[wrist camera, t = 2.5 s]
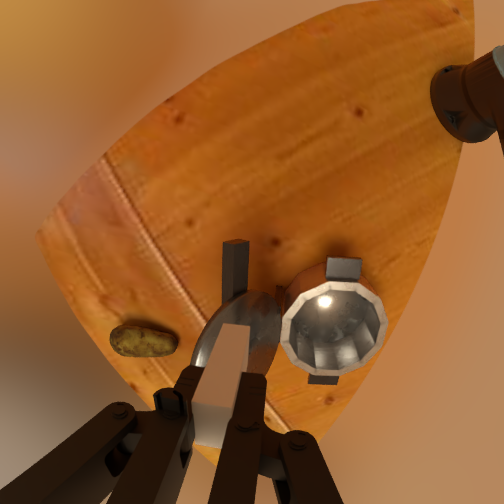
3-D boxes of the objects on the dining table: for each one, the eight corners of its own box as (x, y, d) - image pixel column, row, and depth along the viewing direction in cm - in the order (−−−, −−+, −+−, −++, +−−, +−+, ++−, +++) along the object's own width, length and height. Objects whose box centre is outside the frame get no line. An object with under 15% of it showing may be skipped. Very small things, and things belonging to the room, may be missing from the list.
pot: (380, 249, 46) (400, 265, 36) (358, 359, 51) (368, 389, 42) (279, 241, 47) (277, 255, 38) (270, 355, 53) (266, 385, 44)
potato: (171, 362, 56) (157, 384, 48) (120, 332, 56) (102, 351, 48) (184, 334, 54) (169, 356, 46) (129, 303, 54) (108, 320, 46)
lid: (189, 258, 24) (170, 253, 26) (200, 434, 29) (185, 424, 31) (290, 234, 37) (273, 231, 39) (276, 374, 43) (263, 369, 44)
